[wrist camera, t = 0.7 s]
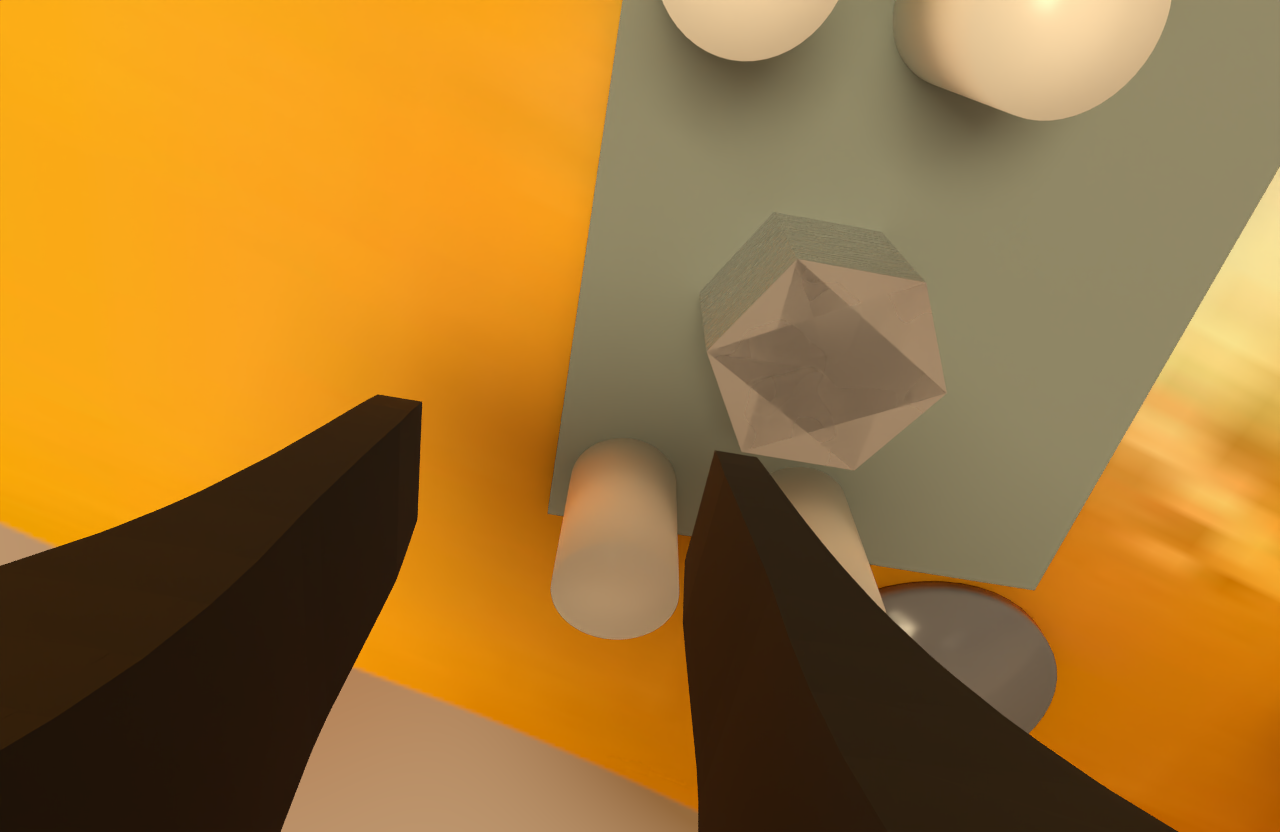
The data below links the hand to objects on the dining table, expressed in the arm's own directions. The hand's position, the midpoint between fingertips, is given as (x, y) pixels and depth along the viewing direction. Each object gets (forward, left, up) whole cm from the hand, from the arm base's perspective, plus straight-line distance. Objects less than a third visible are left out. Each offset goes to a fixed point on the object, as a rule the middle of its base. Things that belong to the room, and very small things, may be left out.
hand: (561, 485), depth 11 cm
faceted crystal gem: (-5, 0, -9) cm, 10 cm away
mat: (-7, -1, -9) cm, 12 cm away
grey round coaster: (-12, +12, -9) cm, 20 cm away
